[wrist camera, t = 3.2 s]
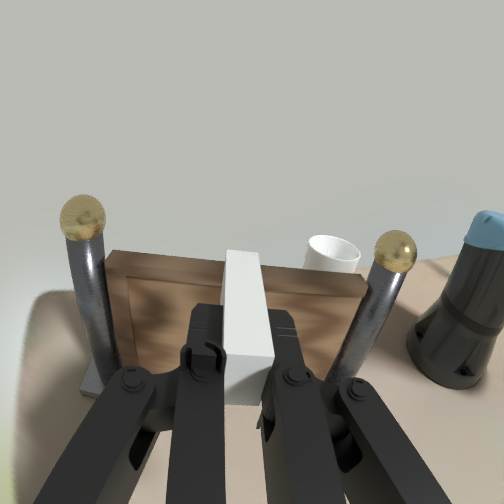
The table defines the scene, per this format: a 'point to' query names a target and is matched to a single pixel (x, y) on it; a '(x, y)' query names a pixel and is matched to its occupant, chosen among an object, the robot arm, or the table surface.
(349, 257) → the white cup
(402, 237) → the gate posts
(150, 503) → the table surface
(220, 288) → the panel
